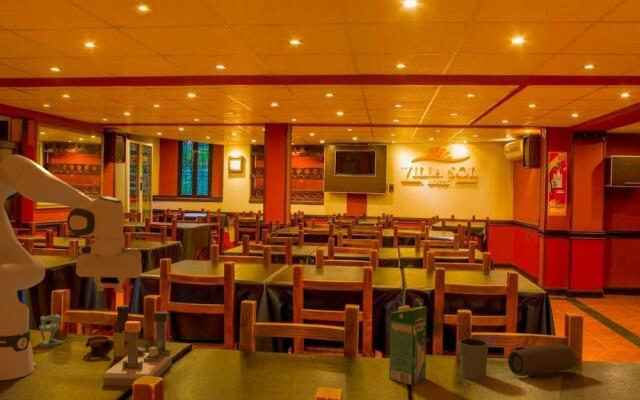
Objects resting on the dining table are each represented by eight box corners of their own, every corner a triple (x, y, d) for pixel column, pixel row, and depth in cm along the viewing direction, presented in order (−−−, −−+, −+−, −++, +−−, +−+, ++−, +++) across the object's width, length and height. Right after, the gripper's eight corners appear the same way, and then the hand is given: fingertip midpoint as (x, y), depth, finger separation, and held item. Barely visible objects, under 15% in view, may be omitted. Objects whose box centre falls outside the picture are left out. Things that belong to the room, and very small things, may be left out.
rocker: (130, 352, 192) (130, 348, 192) (133, 350, 195) (134, 345, 195) (141, 355, 192) (142, 350, 192) (145, 352, 195) (145, 348, 195)
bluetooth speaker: (556, 367, 198) (556, 340, 198) (576, 375, 190) (577, 347, 189) (506, 374, 190) (506, 346, 190) (525, 383, 181) (525, 354, 181)
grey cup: (467, 381, 182) (468, 346, 182) (452, 371, 192) (453, 338, 192) (493, 379, 185) (494, 344, 184) (477, 369, 195) (478, 336, 194)
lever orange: (124, 369, 178) (124, 322, 178) (127, 366, 180) (127, 321, 180) (137, 369, 178) (137, 323, 177) (140, 367, 180) (140, 321, 180)
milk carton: (402, 372, 191) (404, 302, 190) (425, 378, 185) (427, 305, 184) (389, 379, 184) (390, 306, 183) (412, 385, 178) (413, 310, 177)
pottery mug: (78, 360, 201) (80, 338, 205) (94, 364, 209) (95, 343, 213) (107, 353, 199) (108, 331, 203) (122, 358, 207) (122, 336, 211)
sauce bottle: (127, 362, 198) (127, 308, 197) (110, 361, 198) (110, 307, 197) (133, 356, 204) (134, 304, 204) (117, 356, 204) (117, 304, 204)
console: (103, 385, 175) (103, 365, 174) (131, 363, 197) (131, 345, 196) (149, 386, 174) (149, 367, 174) (171, 364, 196) (171, 346, 196)
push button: (147, 358, 187) (147, 349, 187) (150, 355, 190) (150, 346, 190) (156, 358, 187) (156, 349, 187) (159, 355, 190) (159, 346, 190)
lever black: (153, 355, 192) (154, 313, 192) (156, 353, 195) (156, 311, 194) (166, 356, 192) (166, 313, 192) (168, 354, 194) (168, 311, 194)
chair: (57, 339, 226) (57, 310, 225) (62, 343, 219) (62, 314, 219) (36, 342, 221) (36, 313, 220) (41, 347, 214) (41, 317, 214)
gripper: (145, 247, 174) (145, 289, 174) (83, 246, 175) (83, 288, 175) (137, 249, 168) (137, 293, 168) (73, 248, 169) (73, 292, 169)
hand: (109, 291), depth 172 cm, fingers open, 4 cm apart
